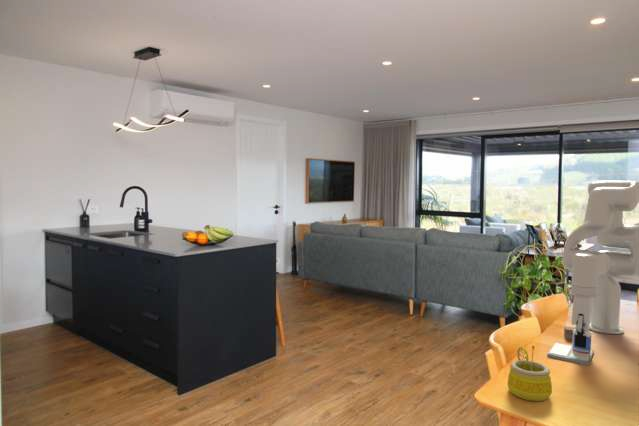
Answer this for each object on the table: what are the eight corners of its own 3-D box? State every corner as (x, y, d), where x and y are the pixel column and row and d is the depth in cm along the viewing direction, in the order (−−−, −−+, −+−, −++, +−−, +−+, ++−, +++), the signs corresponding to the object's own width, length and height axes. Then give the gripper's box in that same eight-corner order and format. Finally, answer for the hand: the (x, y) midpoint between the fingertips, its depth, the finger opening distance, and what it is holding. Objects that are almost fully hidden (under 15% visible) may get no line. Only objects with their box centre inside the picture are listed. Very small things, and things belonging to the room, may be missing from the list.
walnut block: (563, 336, 174) (564, 326, 174) (575, 337, 173) (576, 327, 173) (565, 339, 171) (565, 329, 170) (577, 341, 169) (578, 330, 169)
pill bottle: (593, 356, 150) (594, 327, 149) (575, 355, 151) (576, 326, 151) (586, 350, 155) (588, 322, 155) (569, 349, 157) (570, 321, 156)
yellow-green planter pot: (549, 408, 117) (551, 362, 116) (504, 397, 123) (505, 353, 122) (554, 389, 128) (556, 347, 127) (512, 380, 134) (513, 340, 133)
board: (554, 345, 164) (554, 342, 164) (593, 352, 157) (593, 349, 157) (547, 356, 153) (547, 353, 153) (588, 365, 146) (588, 361, 146)
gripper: (575, 284, 161) (572, 335, 162) (567, 294, 147) (564, 348, 148) (599, 287, 156) (597, 339, 158) (594, 297, 143) (591, 354, 144)
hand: (581, 343), depth 153 cm, fingers open, 6 cm apart
